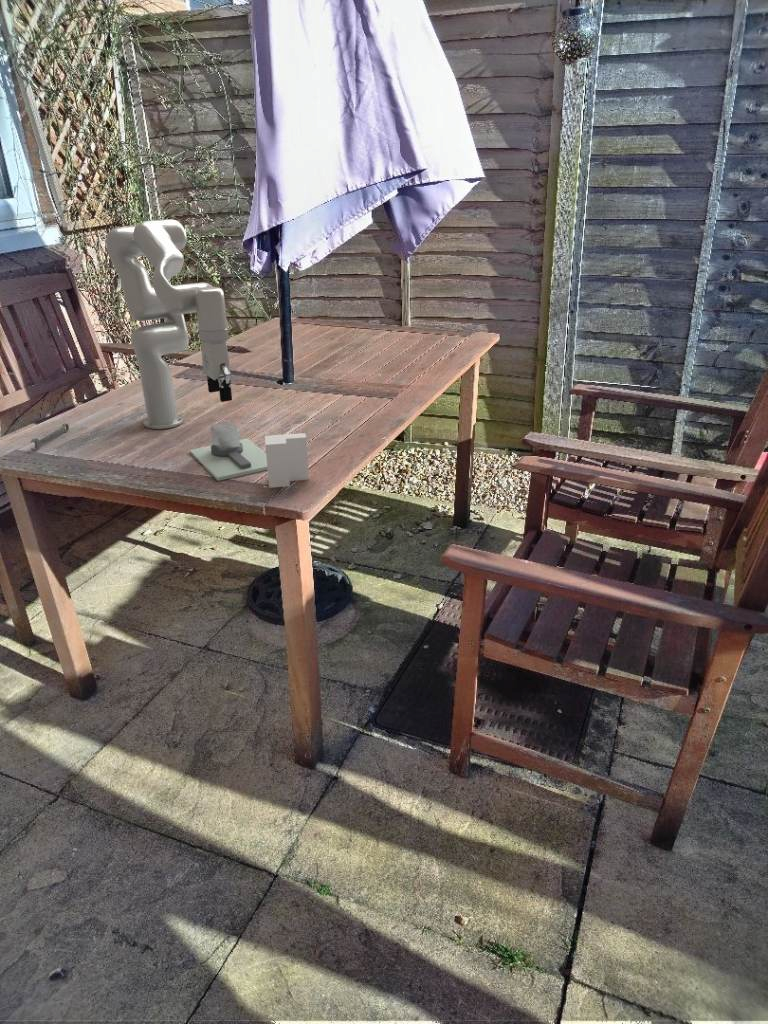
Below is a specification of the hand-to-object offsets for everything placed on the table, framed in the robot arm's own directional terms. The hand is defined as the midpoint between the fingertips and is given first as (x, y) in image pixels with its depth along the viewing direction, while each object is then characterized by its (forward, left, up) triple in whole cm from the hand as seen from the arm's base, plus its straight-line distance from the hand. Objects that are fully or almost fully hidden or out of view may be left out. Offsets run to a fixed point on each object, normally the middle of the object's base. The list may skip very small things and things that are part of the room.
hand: (220, 396), depth 198 cm
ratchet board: (+5, 0, -18) cm, 18 cm away
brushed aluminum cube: (0, 0, -15) cm, 15 cm away
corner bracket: (+25, +8, -18) cm, 32 cm away
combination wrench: (-40, -42, -18) cm, 61 cm away
